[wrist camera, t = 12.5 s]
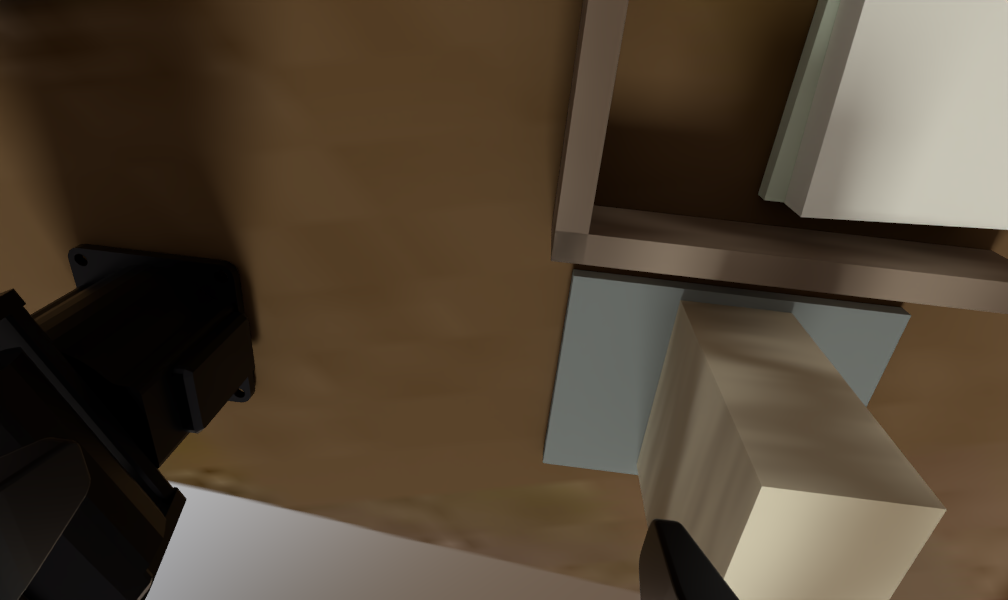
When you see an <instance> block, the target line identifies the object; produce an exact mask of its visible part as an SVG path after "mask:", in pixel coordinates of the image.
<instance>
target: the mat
mask: <svg viewBox="0 0 1008 600" xmlns="http://www.w3.org/2000/svg"><path fill="white" fill-rule="evenodd" d="M680 300H684V301H692V302H701V303H710V304H718V305H727V306H735V307H744V308H753V309H761V310H770V311H778V312H787V313H792V314H793V315H794V317H795V318H796V319H797V320H798V322H799V323H800V324H801V325H802V327H803V328H804V329H805V330H806V332H807V333H808V334H809V336H810V337H811V338H812V339H813V341H814V342H815V343H816V344H817V346H818V347H819V348H820V350H821V351H822V352H823V353H824V355H825V356H826V357H827V358H828V360H829V361H830V362H831V363H832V365H833V366H834V367H835V369H836V370H837V371H838V372H839V374H840V375H841V376H842V377H843V379H844V380H845V381H846V382H847V384H848V385H849V386H850V388H851V389H852V390H853V391H854V393H855V394H856V395H857V396H858V398H859V399H860V400H861V402H862V403H863V404H864V405H865V407H866V406H867V404H868V402H869V400H870V398H871V396H872V394H873V392H874V390H875V388H876V386H877V384H878V382H879V380H880V378H881V376H882V374H883V372H884V370H885V368H886V366H887V364H888V362H889V359H890V357H891V355H892V353H893V351H894V349H895V347H896V345H897V343H898V341H899V339H900V337H901V335H902V333H903V331H904V329H905V327H906V325H907V323H908V321H909V319H910V317H911V315H910V314H909V313H908V312H906V311H905V310H904V309H903V308H901V307H893V306H884V305H876V304H867V303H859V302H850V301H842V300H833V299H825V298H816V297H807V296H799V295H790V294H782V293H773V292H765V291H756V290H748V289H739V288H730V287H722V286H713V285H705V284H696V283H688V282H679V281H671V280H662V279H653V278H645V277H636V276H628V275H619V274H611V273H602V272H594V271H585V270H576V269H573V273H572V279H571V286H570V292H569V298H568V304H567V310H566V316H565V322H564V328H563V335H562V341H561V347H560V353H559V359H558V365H557V371H556V377H555V383H554V390H553V396H552V402H551V408H550V414H549V420H548V426H547V432H546V438H545V445H544V451H543V463H548V464H556V465H564V466H571V467H579V468H587V469H595V470H603V471H611V472H619V473H627V474H634V475H638V470H637V462H638V458H639V454H640V450H641V447H642V443H643V439H644V435H645V431H646V428H647V424H648V420H649V416H650V413H651V409H652V405H653V401H654V398H655V394H656V390H657V386H658V383H659V379H660V375H661V371H662V368H663V364H664V360H665V356H666V353H667V349H668V345H669V341H670V337H671V334H672V330H673V326H674V322H675V319H676V315H677V311H678V307H679V304H680Z"/></svg>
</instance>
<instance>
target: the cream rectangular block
mask: <svg viewBox="0 0 1008 600" xmlns="http://www.w3.org/2000/svg"><path fill="white" fill-rule="evenodd" d="M637 470H638V476H639V481H640V487H641V492H642V498H643V503H644V509H645V515H646V520H647V526H648V528H649V525H650V523H651V521H652V520H653V519H656V518H658V519H665V520H673V521H678V522H679V523H681V524H682V525H683V526H684V528H685V529H686V530H687V531H688V533H689V534H690V535H691V537H692V538H693V539H694V541H695V542H696V543H697V545H698V546H699V547H700V549H701V550H702V551H703V552H704V554H705V555H706V556H707V558H708V559H709V560H710V562H711V563H712V564H713V566H714V567H715V568H716V570H717V571H718V572H719V573H720V575H721V576H722V577H723V579H724V580H725V581H726V583H727V584H728V585H729V587H730V588H731V589H732V591H733V592H734V593H735V594H736V596H737V597H738V598H739V600H889V599H890V598H891V596H892V594H893V593H894V591H895V590H896V588H897V587H898V585H899V583H900V582H901V580H902V579H903V577H904V576H905V574H906V572H907V571H908V569H909V568H910V566H911V565H912V563H913V562H914V560H915V558H916V557H917V555H918V554H919V552H920V551H921V549H922V547H923V546H924V544H925V543H926V541H927V540H928V538H929V536H930V535H931V533H932V532H933V530H934V529H935V527H936V525H937V524H938V522H939V521H940V519H941V518H942V516H943V514H944V513H945V511H946V510H947V509H946V508H945V507H944V506H943V504H942V503H941V502H940V500H939V499H938V498H937V497H936V495H935V494H934V493H933V492H932V490H931V489H930V488H929V486H928V485H927V484H926V483H925V481H924V480H923V479H922V478H921V476H920V475H919V474H918V473H917V471H916V470H915V469H914V467H913V466H912V465H911V464H910V462H909V461H908V460H907V459H906V457H905V456H904V455H903V454H902V452H901V451H900V450H899V448H898V447H897V446H896V445H895V443H894V442H893V441H892V440H891V438H890V437H889V436H888V434H887V433H886V432H885V431H884V429H883V428H882V427H881V426H880V424H879V423H878V422H877V421H876V419H875V418H874V417H873V415H872V414H871V413H870V412H869V410H868V409H867V408H866V407H865V405H864V404H863V403H862V402H861V400H860V399H859V398H858V396H857V395H856V394H855V393H854V391H853V390H852V389H851V388H850V386H849V385H848V384H847V382H846V381H845V380H844V379H843V377H842V376H841V375H840V374H839V372H838V371H837V370H836V369H835V367H834V366H833V365H832V363H831V362H830V361H829V360H828V358H827V357H826V356H825V355H824V353H823V352H822V351H821V350H820V348H819V347H818V346H817V344H816V343H815V342H814V341H813V339H812V338H811V337H810V336H809V334H808V333H807V332H806V330H805V329H804V328H803V327H802V325H801V324H800V323H799V322H798V320H797V319H796V318H795V317H794V315H793V314H792V313H787V312H778V311H770V310H761V309H753V308H744V307H735V306H727V305H718V304H710V303H701V302H692V301H684V300H680V304H679V307H678V311H677V315H676V319H675V322H674V326H673V330H672V334H671V337H670V341H669V345H668V349H667V353H666V356H665V360H664V364H663V368H662V371H661V375H660V379H659V383H658V386H657V390H656V394H655V398H654V401H653V405H652V409H651V413H650V416H649V420H648V424H647V428H646V431H645V435H644V439H643V443H642V447H641V450H640V454H639V458H638V462H637Z"/></svg>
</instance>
